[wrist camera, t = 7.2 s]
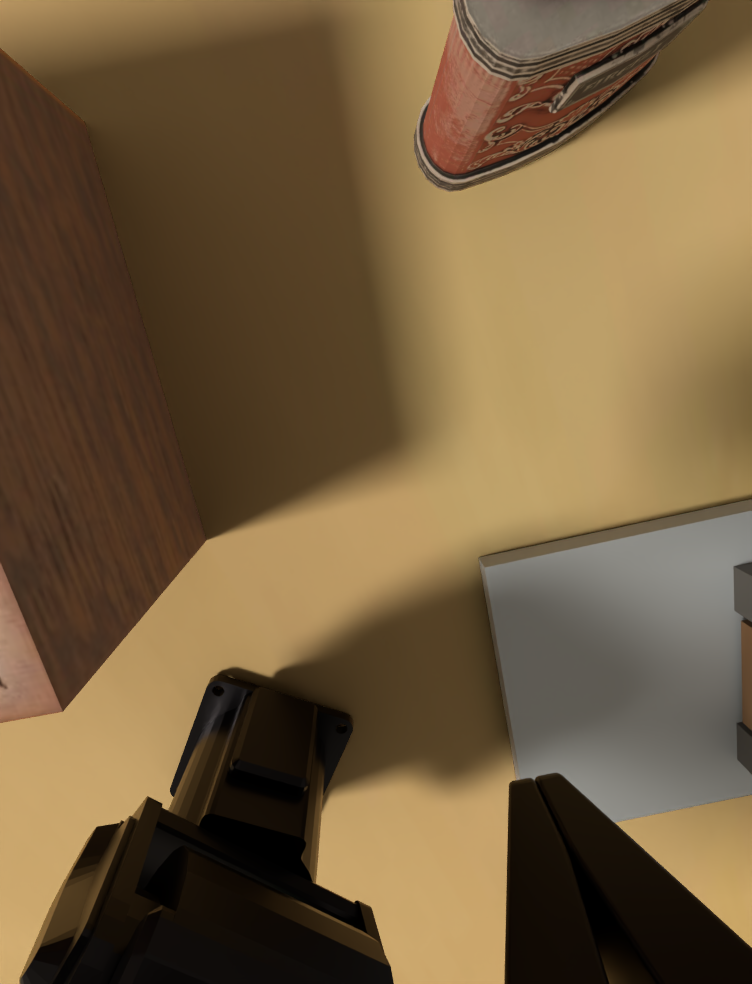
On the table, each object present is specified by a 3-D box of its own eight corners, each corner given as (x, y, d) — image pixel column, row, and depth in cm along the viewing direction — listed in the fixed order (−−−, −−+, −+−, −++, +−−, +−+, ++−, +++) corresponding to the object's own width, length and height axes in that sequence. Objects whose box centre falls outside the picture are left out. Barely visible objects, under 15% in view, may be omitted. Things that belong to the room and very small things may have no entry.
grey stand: (523, 819, 24) (577, 969, 18) (478, 557, 20) (528, 638, 14) (805, 762, 23) (953, 896, 17) (812, 486, 20) (1003, 538, 14)
